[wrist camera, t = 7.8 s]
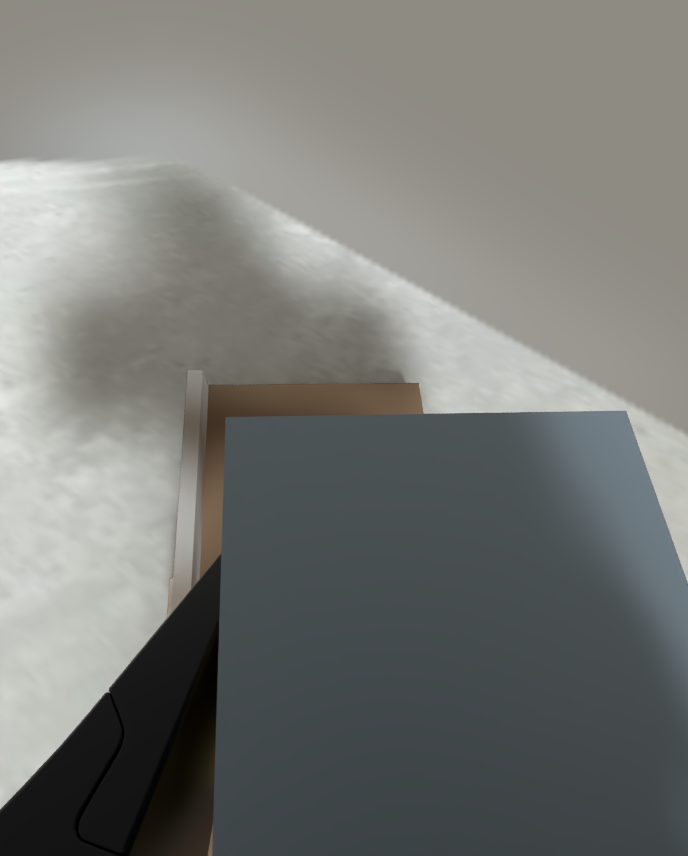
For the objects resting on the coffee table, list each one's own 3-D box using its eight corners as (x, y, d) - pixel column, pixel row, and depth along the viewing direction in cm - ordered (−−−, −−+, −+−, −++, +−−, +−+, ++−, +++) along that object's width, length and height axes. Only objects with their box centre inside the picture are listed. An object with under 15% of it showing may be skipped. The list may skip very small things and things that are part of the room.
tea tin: (387, 538, 16) (626, 411, 5) (404, 687, 14) (845, 1025, 3) (258, 546, 15) (194, 416, 4) (258, 705, 13) (144, 1245, 2)
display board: (485, 891, 16) (527, 954, 14) (164, 956, 15) (134, 1044, 12) (411, 394, 24) (427, 368, 21) (196, 397, 23) (183, 369, 20)
